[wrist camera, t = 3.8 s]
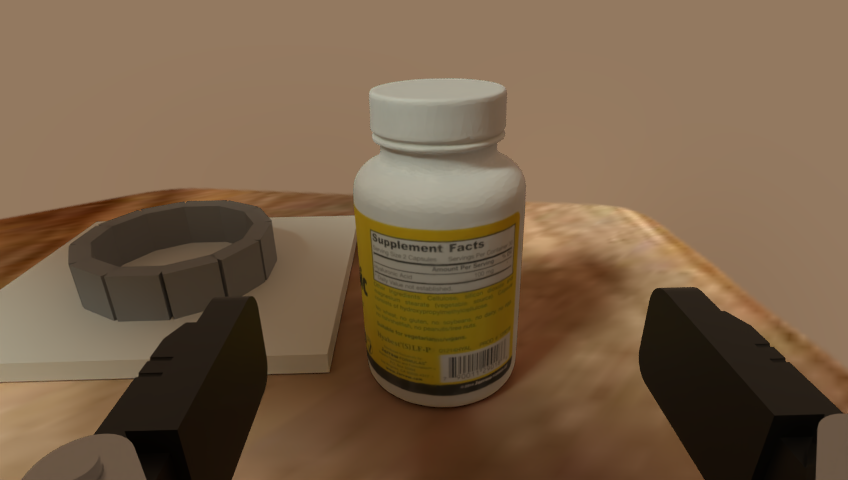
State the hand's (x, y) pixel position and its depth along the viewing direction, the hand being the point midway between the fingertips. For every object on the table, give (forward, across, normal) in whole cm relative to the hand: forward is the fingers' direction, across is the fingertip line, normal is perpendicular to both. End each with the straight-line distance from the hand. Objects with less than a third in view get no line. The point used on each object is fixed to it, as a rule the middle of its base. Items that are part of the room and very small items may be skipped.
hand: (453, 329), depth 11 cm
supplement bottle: (+6, 0, +6) cm, 9 cm away
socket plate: (+12, +11, +6) cm, 18 cm away
